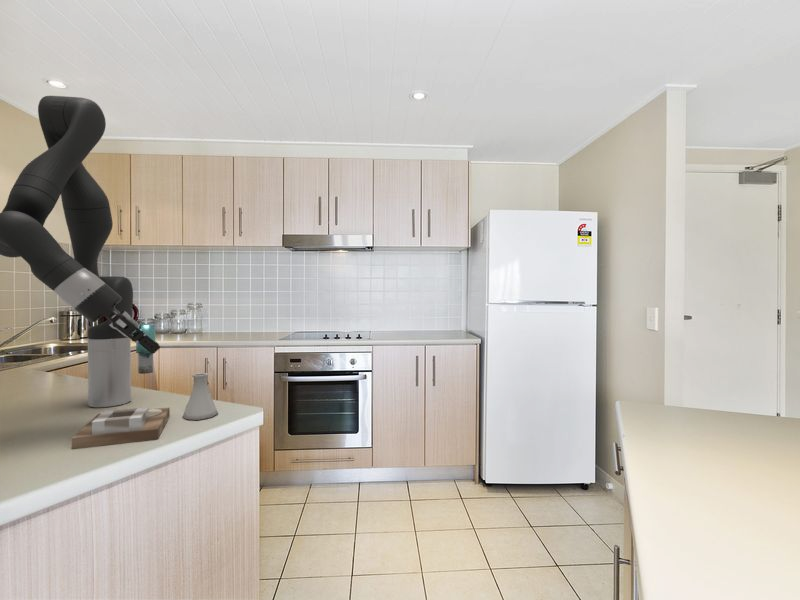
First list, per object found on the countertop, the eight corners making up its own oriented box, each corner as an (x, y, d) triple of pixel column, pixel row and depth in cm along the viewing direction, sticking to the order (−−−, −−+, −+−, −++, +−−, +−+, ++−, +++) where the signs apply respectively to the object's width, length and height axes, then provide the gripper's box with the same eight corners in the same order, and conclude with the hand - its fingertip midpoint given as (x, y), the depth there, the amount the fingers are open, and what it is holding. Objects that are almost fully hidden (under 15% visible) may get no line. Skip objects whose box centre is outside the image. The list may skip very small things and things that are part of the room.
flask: (224, 414, 100) (223, 372, 100) (198, 422, 94) (198, 378, 94) (202, 410, 103) (202, 370, 103) (176, 418, 97) (175, 375, 97)
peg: (137, 371, 94) (137, 324, 94) (156, 370, 95) (156, 324, 95) (134, 374, 90) (134, 325, 90) (153, 373, 92) (153, 325, 92)
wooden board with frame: (98, 422, 93) (98, 402, 93) (169, 415, 99) (169, 396, 99) (71, 448, 78) (71, 424, 78) (158, 439, 83) (158, 416, 83)
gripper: (102, 281, 83) (172, 339, 89) (106, 283, 95) (168, 334, 101) (68, 308, 80) (143, 367, 86) (77, 307, 92) (142, 358, 98)
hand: (156, 349), depth 94 cm, fingers closed on peg, 3 cm apart
